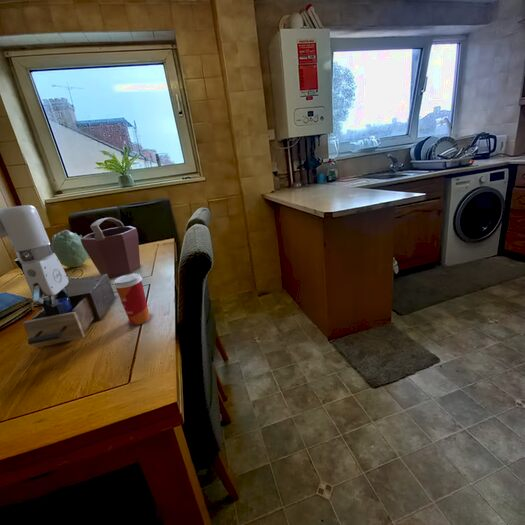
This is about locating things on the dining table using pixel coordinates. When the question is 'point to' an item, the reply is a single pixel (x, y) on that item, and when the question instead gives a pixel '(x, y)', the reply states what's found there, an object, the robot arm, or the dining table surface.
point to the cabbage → (69, 249)
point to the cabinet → (92, 292)
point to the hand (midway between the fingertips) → (61, 312)
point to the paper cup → (133, 298)
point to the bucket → (113, 248)
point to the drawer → (60, 324)
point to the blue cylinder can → (63, 305)
